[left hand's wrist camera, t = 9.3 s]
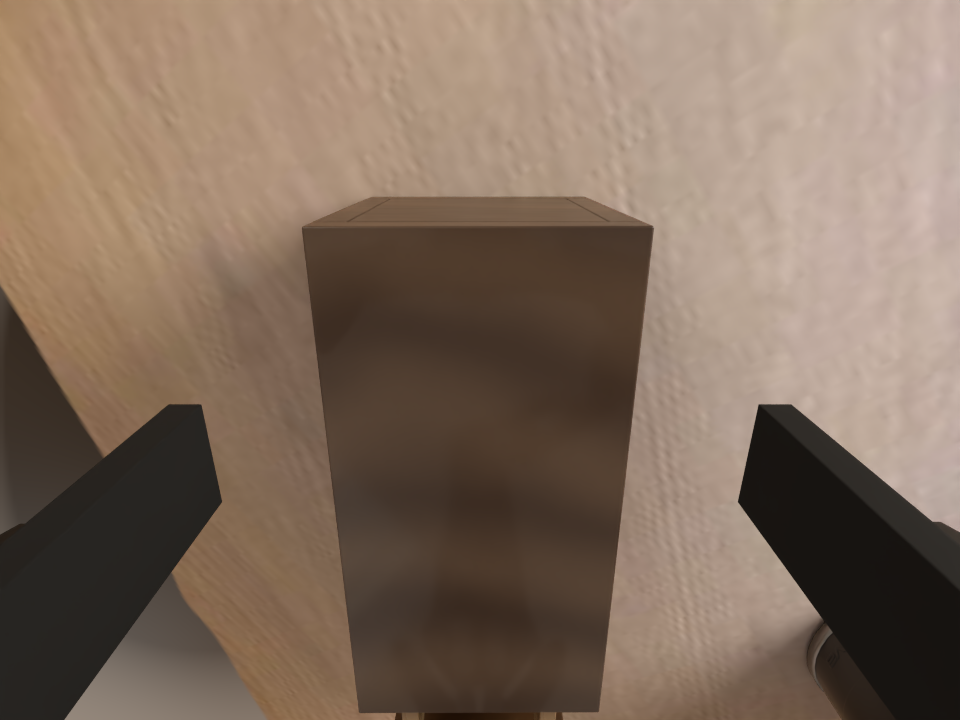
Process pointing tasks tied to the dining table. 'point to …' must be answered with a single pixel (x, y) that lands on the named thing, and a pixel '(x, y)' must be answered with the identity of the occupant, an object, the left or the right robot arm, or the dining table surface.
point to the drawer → (481, 716)
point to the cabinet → (478, 440)
